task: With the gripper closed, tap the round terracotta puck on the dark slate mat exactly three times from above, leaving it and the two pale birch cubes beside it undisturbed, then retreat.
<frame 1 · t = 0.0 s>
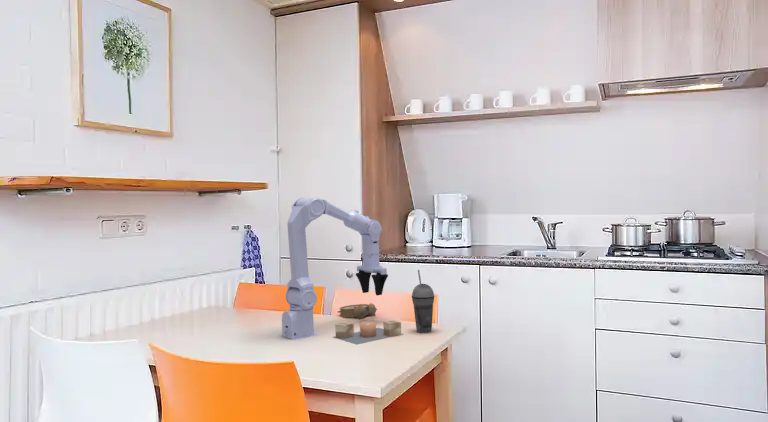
hand: (372, 293, 204), 10 cm above the table, fingers open, 7 cm apart
birch cube B: (392, 334, 183), point 1 cm above the table, touching slate mat
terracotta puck: (368, 335, 183), point 1 cm above the table, touching slate mat
birch cube A: (344, 336, 183), point 1 cm above the table, touching slate mat
slate mat: (368, 337, 183), on the table
alarm clock: (358, 317, 218), on the table
beverage cup: (424, 333, 187), on the table
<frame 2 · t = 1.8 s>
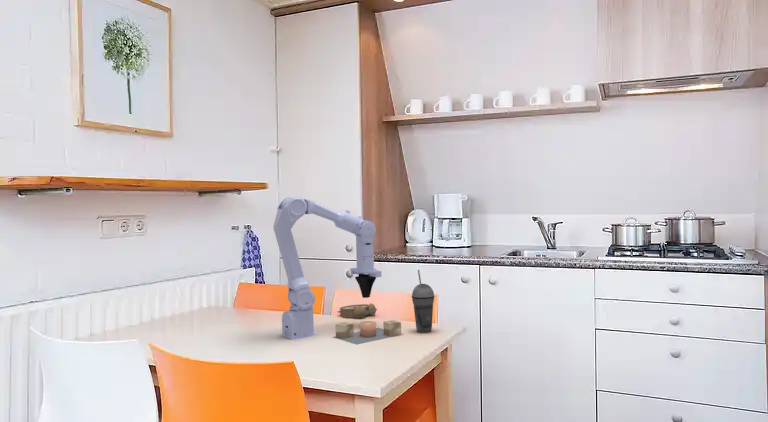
hand: (366, 297, 196), 10 cm above the table, fingers closed
nothing on the table moved.
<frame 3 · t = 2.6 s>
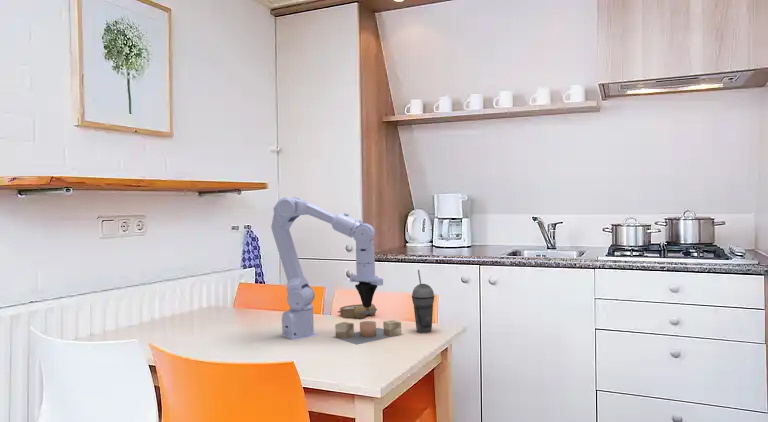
hand: (367, 306, 183), 10 cm above the table, fingers closed
nothing on the table moved.
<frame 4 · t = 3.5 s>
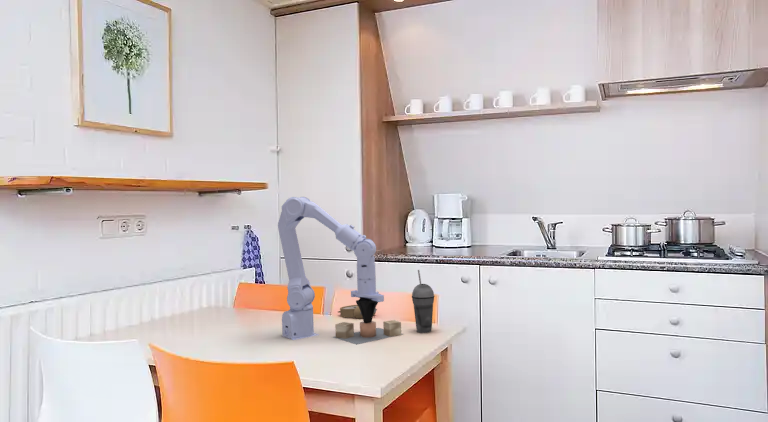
hand: (367, 322, 183), 5 cm above the table, fingers closed
nothing on the table moved.
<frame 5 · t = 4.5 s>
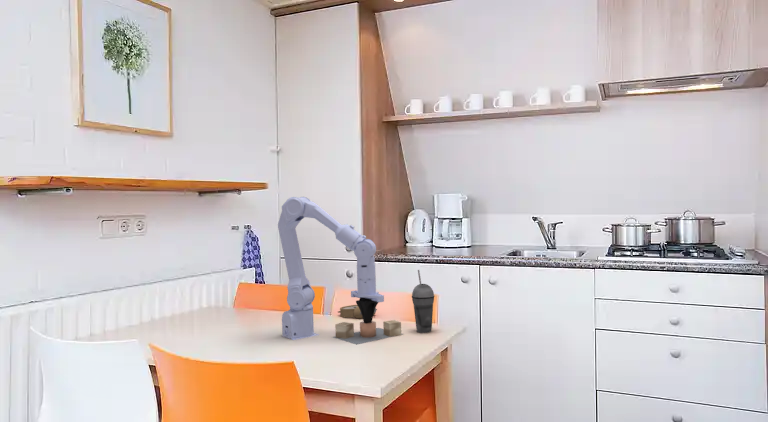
hand: (367, 322, 183), 5 cm above the table, fingers closed, pressing on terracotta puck
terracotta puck: (368, 335, 183), point 1 cm above the table, touching gripper, slate mat
everything else where it was.
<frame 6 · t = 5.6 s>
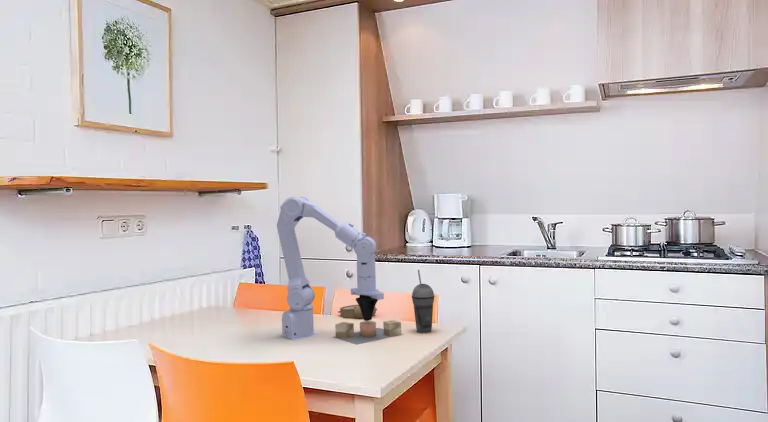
hand: (367, 320, 183), 5 cm above the table, fingers closed
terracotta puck: (368, 335, 183), point 1 cm above the table, touching slate mat
everything else where it was.
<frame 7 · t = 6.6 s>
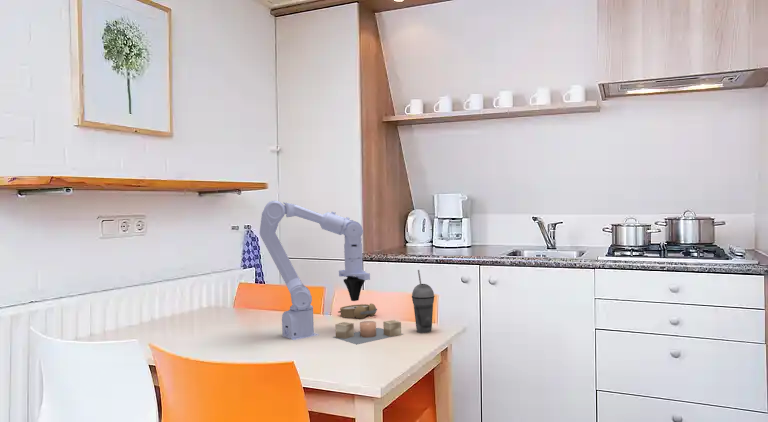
hand: (354, 300, 190), 10 cm above the table, fingers closed
nothing on the table moved.
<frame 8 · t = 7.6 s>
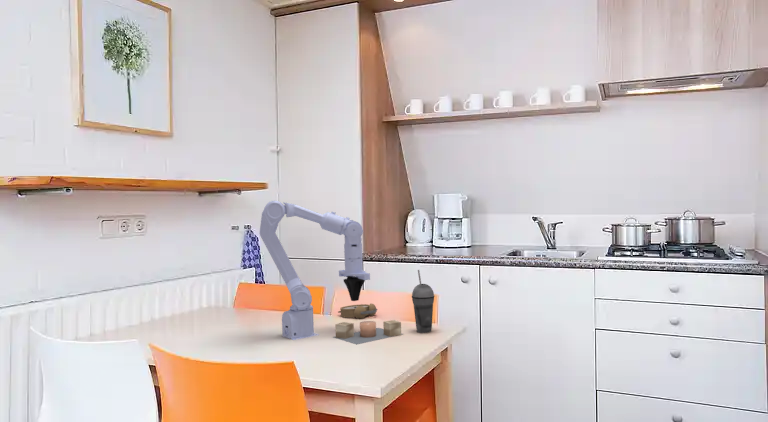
hand: (354, 300, 190), 10 cm above the table, fingers closed
nothing on the table moved.
at the end: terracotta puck moved 0.0 cm from its start; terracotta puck tilted 0°; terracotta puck touching slate mat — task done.
